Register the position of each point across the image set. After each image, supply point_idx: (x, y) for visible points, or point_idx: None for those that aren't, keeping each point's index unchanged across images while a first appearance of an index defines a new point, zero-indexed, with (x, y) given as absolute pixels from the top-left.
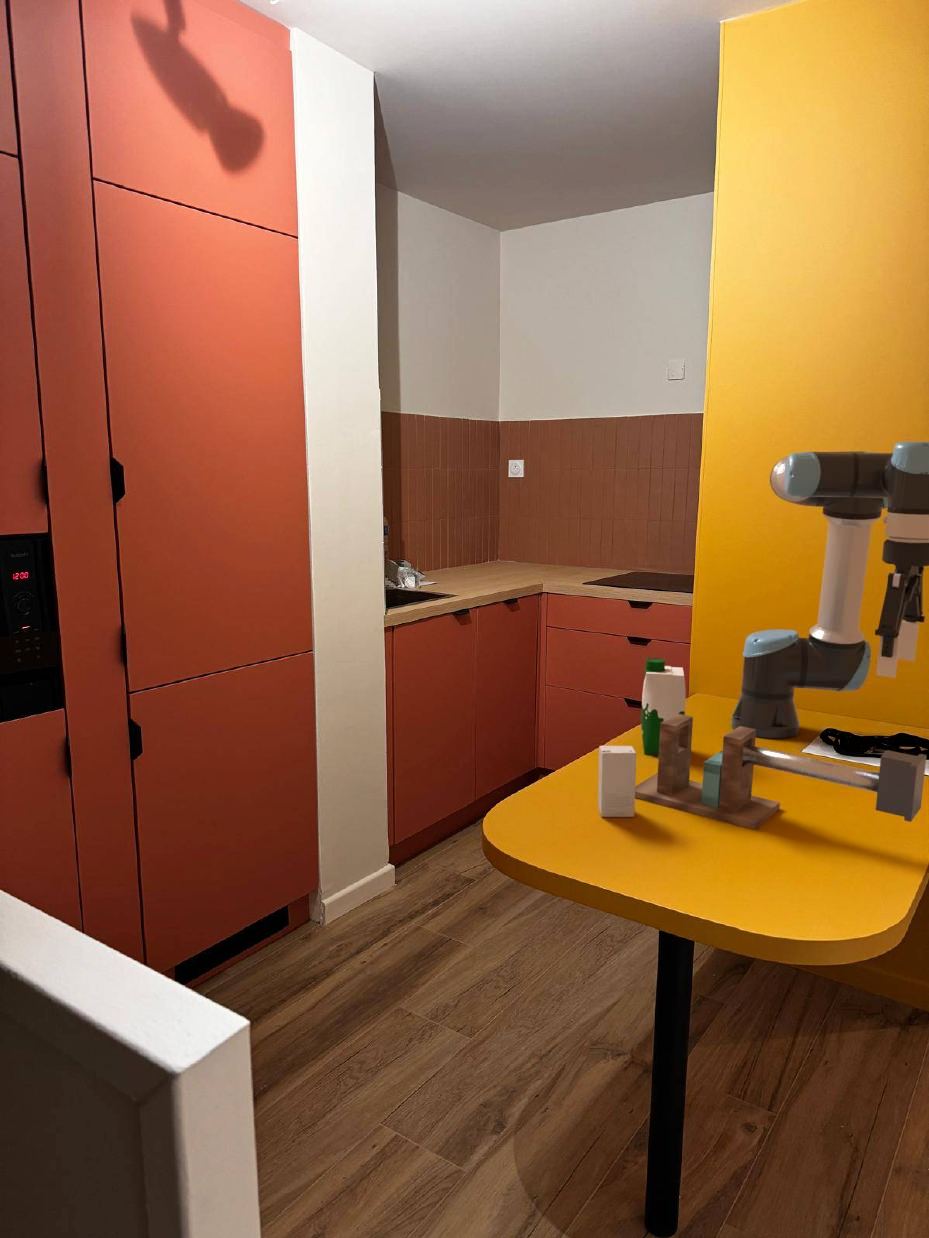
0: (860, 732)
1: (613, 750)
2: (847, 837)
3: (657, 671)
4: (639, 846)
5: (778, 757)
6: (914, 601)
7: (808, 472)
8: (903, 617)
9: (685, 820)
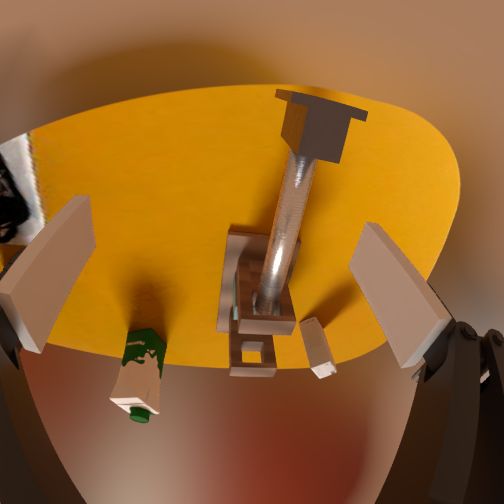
0: None
1: (329, 370)
2: (274, 156)
3: (146, 410)
4: (364, 296)
5: (285, 274)
6: (37, 471)
7: None
8: (20, 361)
9: (303, 288)
